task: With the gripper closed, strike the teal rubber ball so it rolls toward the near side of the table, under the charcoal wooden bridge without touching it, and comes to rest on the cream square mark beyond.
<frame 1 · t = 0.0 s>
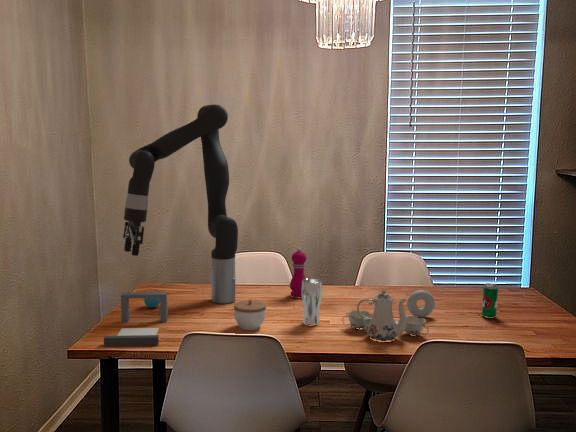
hand: (131, 253, 191), 22 cm above the table, tool pointing down, fingers open, 8 cm apart
donut: (420, 317, 196), on the table
bridge: (144, 321, 188), on the table
pepper mill: (298, 296, 221), on the table
beer glass: (311, 323, 188), on the table
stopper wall: (131, 344, 166), on the table
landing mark: (137, 334, 174), on the table
chinaware: (383, 336, 177), on the table
soda can: (488, 317, 197), on the table
lidded jar: (250, 327, 183), on the table
ball: (152, 299, 203), on the table
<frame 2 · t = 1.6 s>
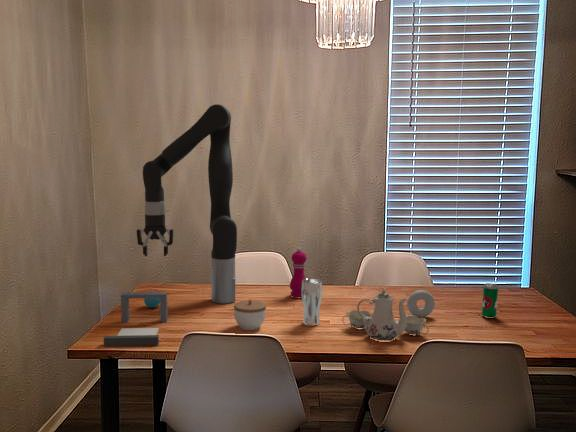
hand: (155, 255, 211), 18 cm above the table, tool pointing down, fingers open, 6 cm apart
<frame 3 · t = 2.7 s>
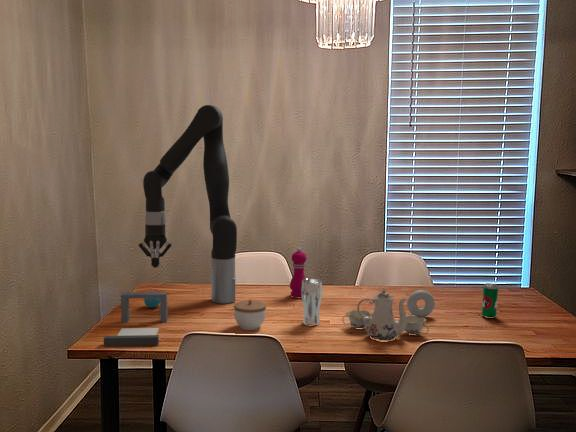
hand: (155, 267, 211), 13 cm above the table, tool pointing down, fingers closed
nothing on the table moved.
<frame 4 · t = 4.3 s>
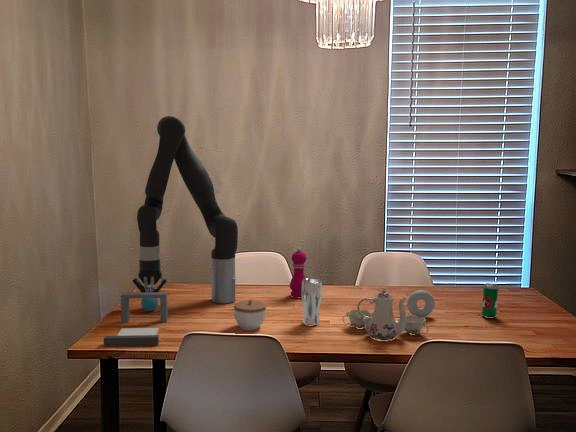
hand: (150, 303, 203), 2 cm above the table, tool pointing down, fingers closed
ball: (149, 302, 199), on the table
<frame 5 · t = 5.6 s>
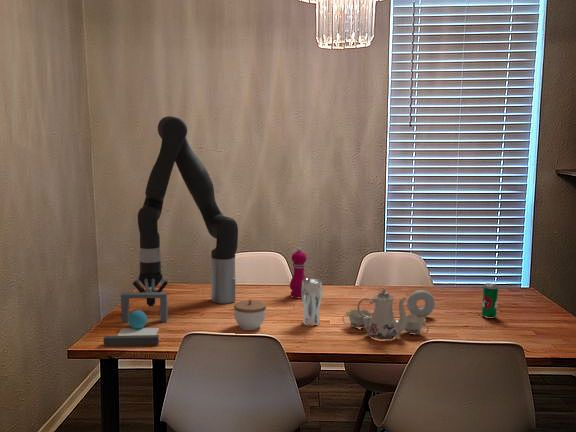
hand: (151, 305, 201), 1 cm above the table, tool pointing down, fingers closed
ball: (137, 319, 180), on the table
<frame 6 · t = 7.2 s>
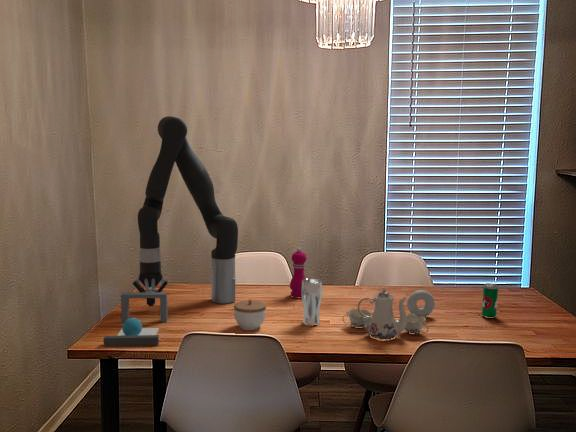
hand: (151, 305, 201), 1 cm above the table, tool pointing down, fingers closed
ball: (132, 327, 172), on the table
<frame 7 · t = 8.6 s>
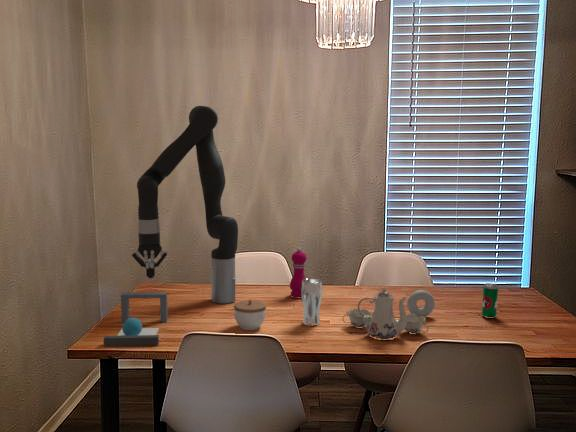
hand: (150, 277, 200), 12 cm above the table, tool pointing down, fingers closed
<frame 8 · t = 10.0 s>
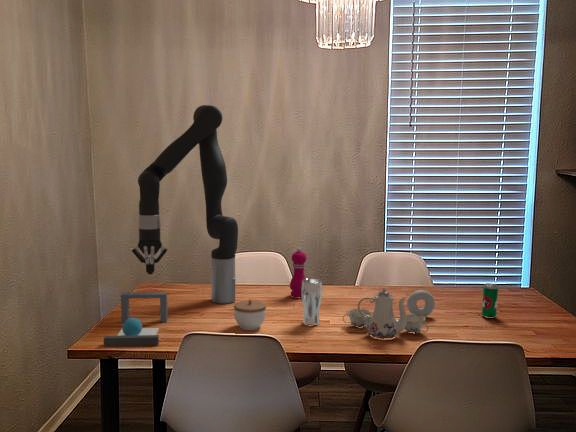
hand: (150, 273, 199), 13 cm above the table, tool pointing down, fingers closed
at the end: ball 1.9 cm from the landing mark (horizontally); ball never touched bridge; ball at rest at the end (0.0 cm/s) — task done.
